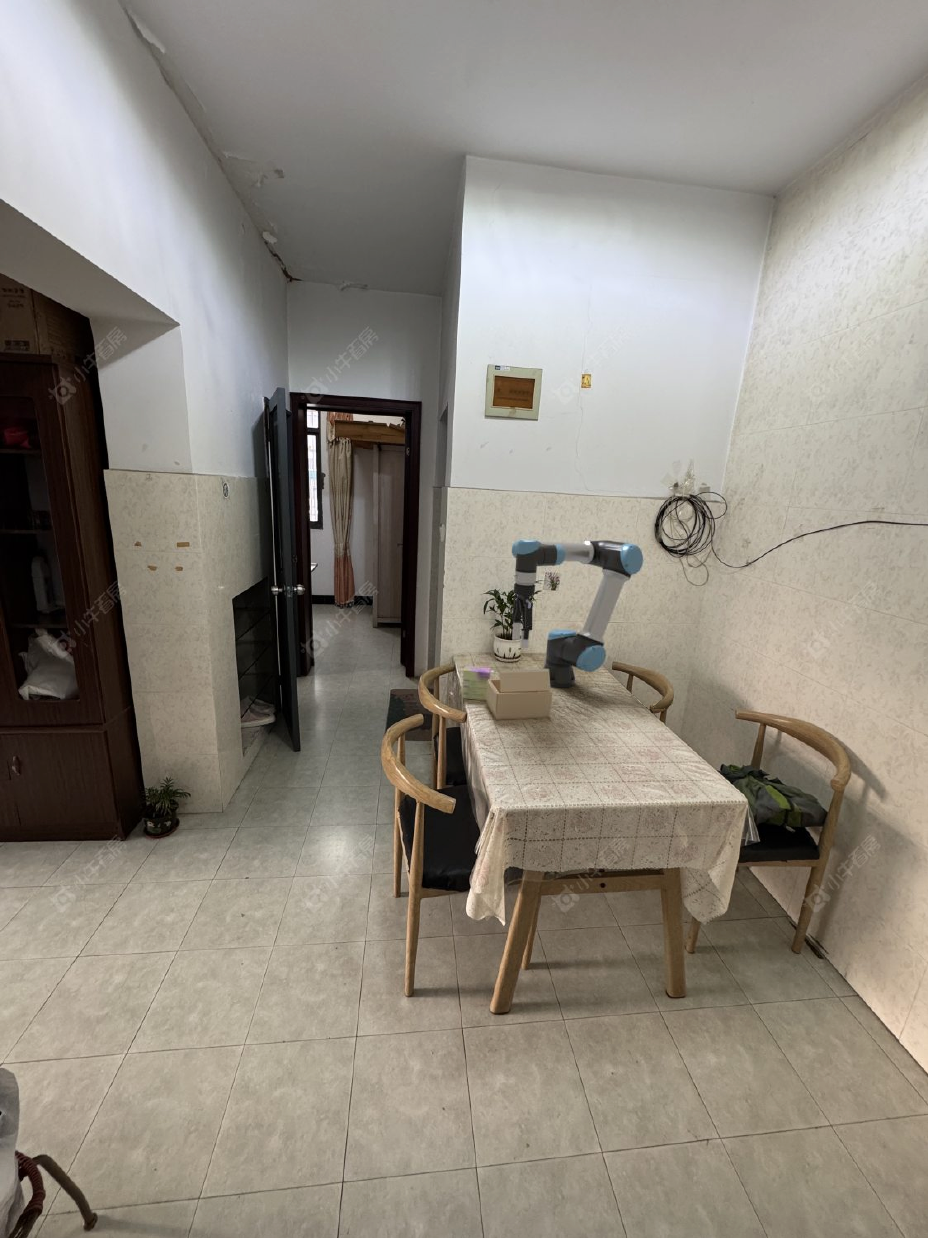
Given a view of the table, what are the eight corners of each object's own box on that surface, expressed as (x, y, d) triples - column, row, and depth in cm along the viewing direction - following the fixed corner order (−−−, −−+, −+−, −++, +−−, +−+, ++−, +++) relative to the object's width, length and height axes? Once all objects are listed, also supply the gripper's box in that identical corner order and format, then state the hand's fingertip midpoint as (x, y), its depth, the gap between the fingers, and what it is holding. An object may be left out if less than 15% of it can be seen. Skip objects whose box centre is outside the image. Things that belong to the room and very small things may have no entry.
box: (488, 695, 201) (490, 667, 198) (488, 701, 195) (489, 672, 192) (463, 693, 201) (464, 665, 198) (461, 698, 196) (463, 670, 193)
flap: (548, 668, 182) (549, 668, 181) (550, 690, 180) (550, 690, 180) (499, 670, 178) (499, 670, 177) (500, 692, 176) (501, 692, 176)
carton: (537, 701, 197) (539, 677, 194) (550, 717, 183) (553, 692, 181) (485, 703, 192) (486, 679, 190) (495, 720, 179) (496, 694, 176)
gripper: (506, 577, 188) (501, 635, 194) (524, 589, 168) (519, 653, 173) (524, 577, 190) (520, 634, 195) (545, 589, 169) (539, 652, 175)
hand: (519, 643), depth 184 cm, fingers open, 9 cm apart
